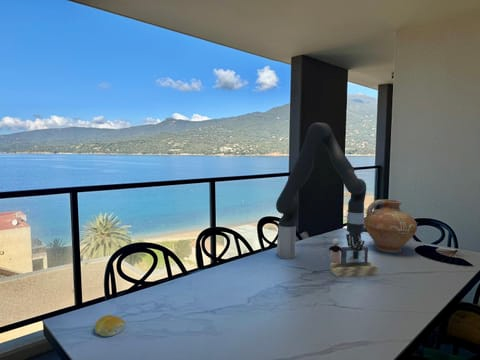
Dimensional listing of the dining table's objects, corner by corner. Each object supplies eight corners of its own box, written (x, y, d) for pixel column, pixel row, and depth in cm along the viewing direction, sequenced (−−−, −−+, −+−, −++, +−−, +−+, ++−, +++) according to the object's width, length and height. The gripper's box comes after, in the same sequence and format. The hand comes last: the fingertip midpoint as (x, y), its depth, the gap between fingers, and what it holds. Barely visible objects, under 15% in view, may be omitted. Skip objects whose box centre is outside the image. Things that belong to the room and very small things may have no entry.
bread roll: (111, 320, 107) (111, 308, 107) (129, 328, 102) (128, 316, 102) (88, 331, 100) (88, 319, 100) (106, 340, 95) (105, 328, 95)
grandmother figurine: (341, 262, 166) (342, 238, 165) (343, 264, 162) (344, 240, 161) (326, 261, 167) (327, 237, 166) (327, 264, 163) (328, 239, 162)
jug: (426, 258, 173) (429, 203, 171) (373, 257, 174) (376, 203, 171) (400, 243, 202) (403, 196, 199) (355, 243, 202) (357, 196, 199)
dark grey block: (343, 265, 149) (343, 248, 148) (340, 263, 151) (341, 247, 151) (367, 264, 150) (367, 247, 150) (364, 262, 153) (365, 246, 152)
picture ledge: (337, 276, 146) (337, 268, 146) (329, 270, 154) (330, 262, 153) (378, 275, 148) (378, 267, 148) (368, 269, 156) (369, 261, 156)
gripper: (341, 218, 155) (340, 253, 157) (355, 225, 142) (353, 263, 143) (355, 218, 156) (354, 253, 158) (370, 224, 143) (369, 262, 144)
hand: (354, 257), depth 150 cm, fingers closed on dark grey block, 2 cm apart
